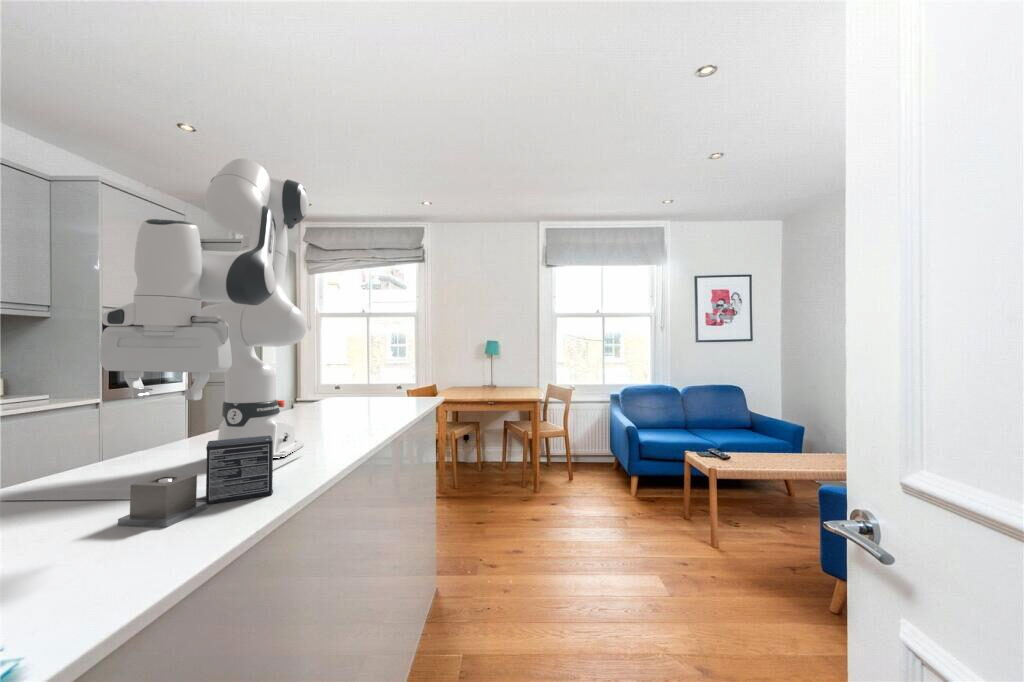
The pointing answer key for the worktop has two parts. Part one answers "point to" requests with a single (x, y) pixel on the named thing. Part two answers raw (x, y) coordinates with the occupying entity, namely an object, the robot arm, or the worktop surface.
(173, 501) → the collar
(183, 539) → the worktop surface
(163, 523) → the shaft stand
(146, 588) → the worktop surface
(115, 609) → the worktop surface
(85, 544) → the worktop surface
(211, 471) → the small box
